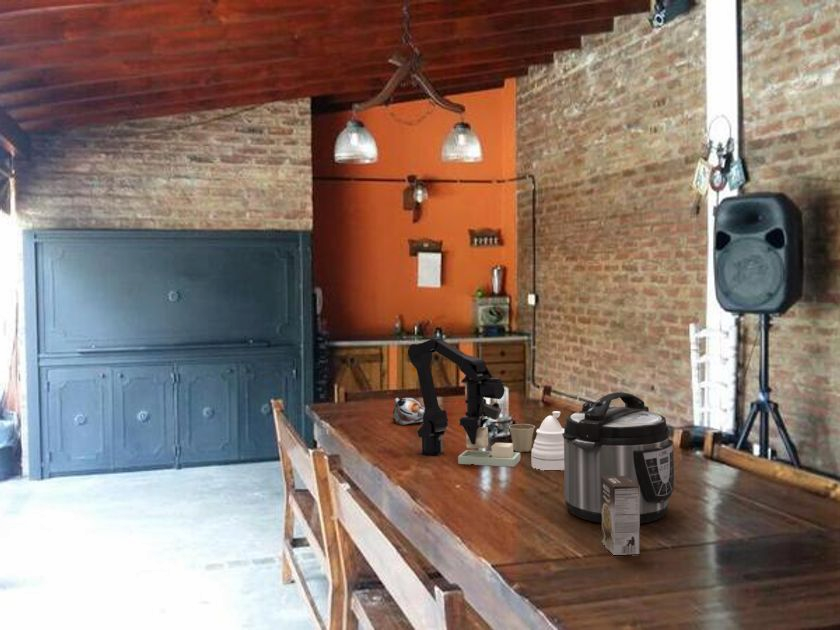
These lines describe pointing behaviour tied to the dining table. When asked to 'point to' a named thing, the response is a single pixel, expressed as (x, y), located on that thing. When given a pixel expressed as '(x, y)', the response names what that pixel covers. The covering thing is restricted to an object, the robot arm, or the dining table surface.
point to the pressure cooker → (617, 455)
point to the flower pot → (522, 436)
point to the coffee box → (620, 515)
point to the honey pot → (549, 445)
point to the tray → (491, 456)
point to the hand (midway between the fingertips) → (476, 442)
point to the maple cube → (479, 438)
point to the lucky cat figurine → (407, 411)
